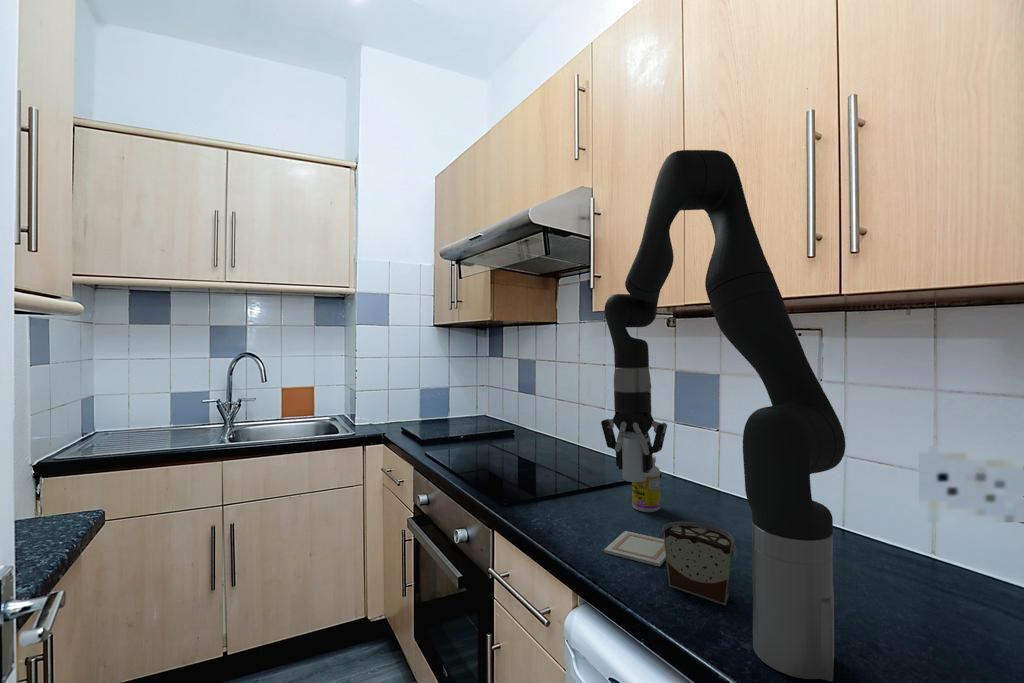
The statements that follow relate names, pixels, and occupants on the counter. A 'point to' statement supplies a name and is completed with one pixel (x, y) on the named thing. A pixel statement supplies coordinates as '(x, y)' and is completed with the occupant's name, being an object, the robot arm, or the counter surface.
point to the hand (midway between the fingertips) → (634, 470)
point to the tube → (632, 458)
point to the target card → (638, 548)
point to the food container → (699, 559)
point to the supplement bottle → (647, 491)
